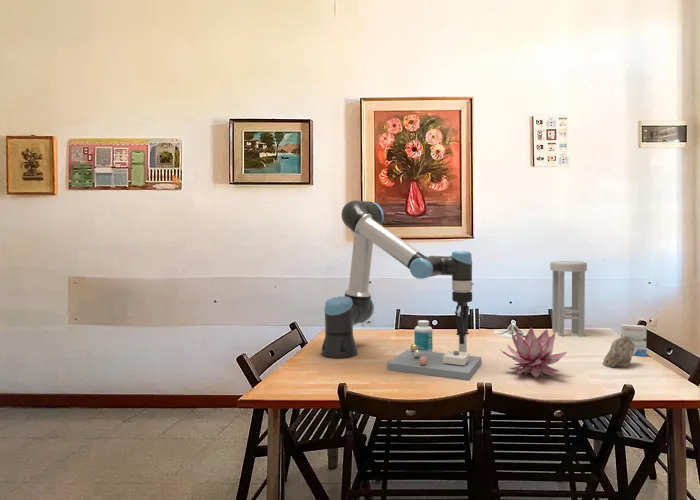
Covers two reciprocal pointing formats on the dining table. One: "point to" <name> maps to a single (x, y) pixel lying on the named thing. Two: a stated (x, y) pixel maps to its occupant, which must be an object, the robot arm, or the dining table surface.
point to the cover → (456, 358)
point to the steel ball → (417, 354)
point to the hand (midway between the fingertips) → (462, 351)
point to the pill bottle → (423, 336)
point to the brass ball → (413, 347)
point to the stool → (577, 296)
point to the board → (433, 365)
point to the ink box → (636, 337)
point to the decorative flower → (534, 353)
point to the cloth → (507, 332)
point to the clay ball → (423, 360)
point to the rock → (620, 352)
